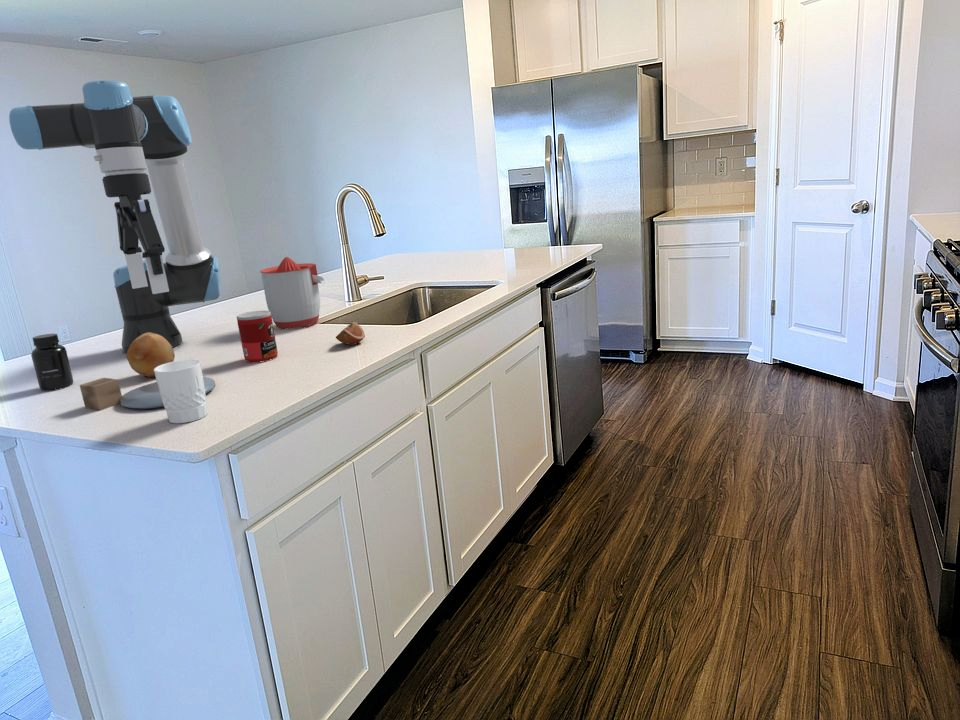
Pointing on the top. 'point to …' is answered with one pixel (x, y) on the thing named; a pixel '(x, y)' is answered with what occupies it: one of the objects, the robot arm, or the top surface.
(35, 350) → the supplement bottle
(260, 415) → the top surface
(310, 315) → the citrus juicer
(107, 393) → the walnut block
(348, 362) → the top surface
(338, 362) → the top surface
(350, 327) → the fruit slice
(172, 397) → the white cup
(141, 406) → the plate
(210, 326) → the top surface
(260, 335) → the canned food
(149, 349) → the onion
